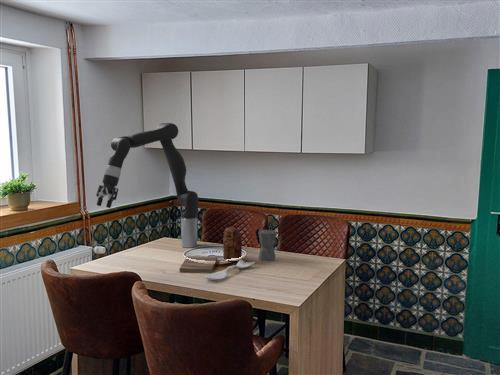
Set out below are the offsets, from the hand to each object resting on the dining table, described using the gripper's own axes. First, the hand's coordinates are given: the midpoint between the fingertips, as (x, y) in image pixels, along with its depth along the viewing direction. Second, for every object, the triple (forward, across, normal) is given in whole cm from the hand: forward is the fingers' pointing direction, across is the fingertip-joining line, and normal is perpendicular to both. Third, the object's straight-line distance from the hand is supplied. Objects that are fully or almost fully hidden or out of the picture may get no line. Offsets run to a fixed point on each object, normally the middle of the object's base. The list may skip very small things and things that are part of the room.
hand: (103, 206), depth 244 cm
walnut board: (+18, -35, -41) cm, 57 cm away
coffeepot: (+6, -52, -72) cm, 89 cm away
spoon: (+18, -55, -43) cm, 72 cm away
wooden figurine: (+11, -41, -59) cm, 72 cm away
